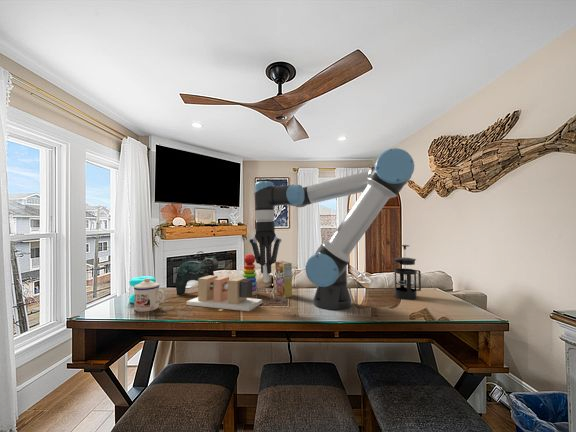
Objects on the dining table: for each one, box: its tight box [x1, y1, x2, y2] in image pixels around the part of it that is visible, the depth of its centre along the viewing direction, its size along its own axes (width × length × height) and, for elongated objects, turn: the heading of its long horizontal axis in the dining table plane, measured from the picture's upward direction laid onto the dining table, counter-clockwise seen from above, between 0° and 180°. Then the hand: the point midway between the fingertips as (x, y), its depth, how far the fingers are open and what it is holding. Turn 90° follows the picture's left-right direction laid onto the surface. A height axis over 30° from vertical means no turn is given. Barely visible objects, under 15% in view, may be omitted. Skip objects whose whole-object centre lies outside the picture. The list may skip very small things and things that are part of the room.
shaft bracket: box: [186, 275, 263, 312], centre depth 120 cm, size 28×12×10 cm, turn 71°
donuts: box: [128, 275, 156, 304], centre depth 126 cm, size 10×10×10 cm
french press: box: [394, 244, 422, 301], centre depth 130 cm, size 12×9×23 cm
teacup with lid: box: [133, 278, 166, 313], centre depth 114 cm, size 12×9×12 cm
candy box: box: [274, 260, 293, 299], centre depth 134 cm, size 9×4×15 cm, turn 29°
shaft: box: [210, 280, 252, 298], centre depth 120 cm, size 21×5×6 cm, turn 71°
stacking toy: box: [242, 253, 258, 297], centre depth 137 cm, size 8×8×19 cm
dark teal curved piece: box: [175, 251, 219, 295], centre depth 138 cm, size 20×6×20 cm, turn 81°
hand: (266, 281), depth 114 cm, fingers closed
